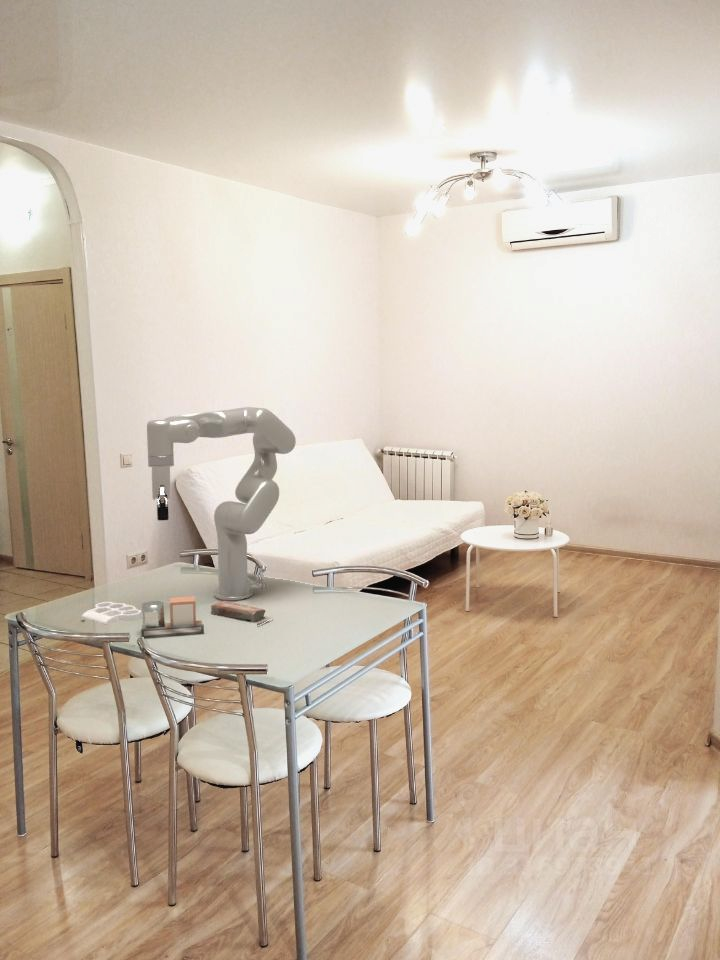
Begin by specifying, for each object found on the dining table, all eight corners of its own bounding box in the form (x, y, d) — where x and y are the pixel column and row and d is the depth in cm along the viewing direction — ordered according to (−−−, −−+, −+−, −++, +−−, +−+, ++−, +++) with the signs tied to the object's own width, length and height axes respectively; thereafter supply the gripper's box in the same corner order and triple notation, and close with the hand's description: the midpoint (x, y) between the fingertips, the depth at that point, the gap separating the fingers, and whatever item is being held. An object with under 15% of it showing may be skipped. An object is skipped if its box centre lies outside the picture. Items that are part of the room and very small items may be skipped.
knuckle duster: (75, 620, 244) (115, 608, 256) (112, 632, 234) (152, 619, 245) (74, 609, 244) (114, 598, 255) (112, 621, 233) (152, 608, 245)
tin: (166, 627, 232) (164, 600, 231) (163, 634, 227) (161, 606, 225) (145, 628, 232) (143, 601, 231) (141, 635, 226) (139, 608, 225)
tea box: (195, 626, 234) (194, 596, 233) (196, 631, 229) (195, 601, 228) (170, 628, 232) (169, 597, 231) (170, 633, 228) (169, 603, 226)
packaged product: (205, 605, 244) (226, 597, 252) (205, 620, 244) (227, 612, 253) (252, 614, 235) (273, 606, 243) (253, 631, 235) (273, 621, 244)
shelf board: (201, 624, 239) (201, 612, 239) (204, 637, 228) (203, 625, 227) (142, 628, 235) (141, 616, 235) (141, 642, 224) (141, 630, 223)
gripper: (148, 458, 250) (150, 512, 253) (147, 465, 234) (150, 523, 236) (173, 457, 252) (174, 511, 255) (174, 464, 236) (176, 521, 238)
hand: (162, 516), depth 246 cm, fingers open, 9 cm apart
